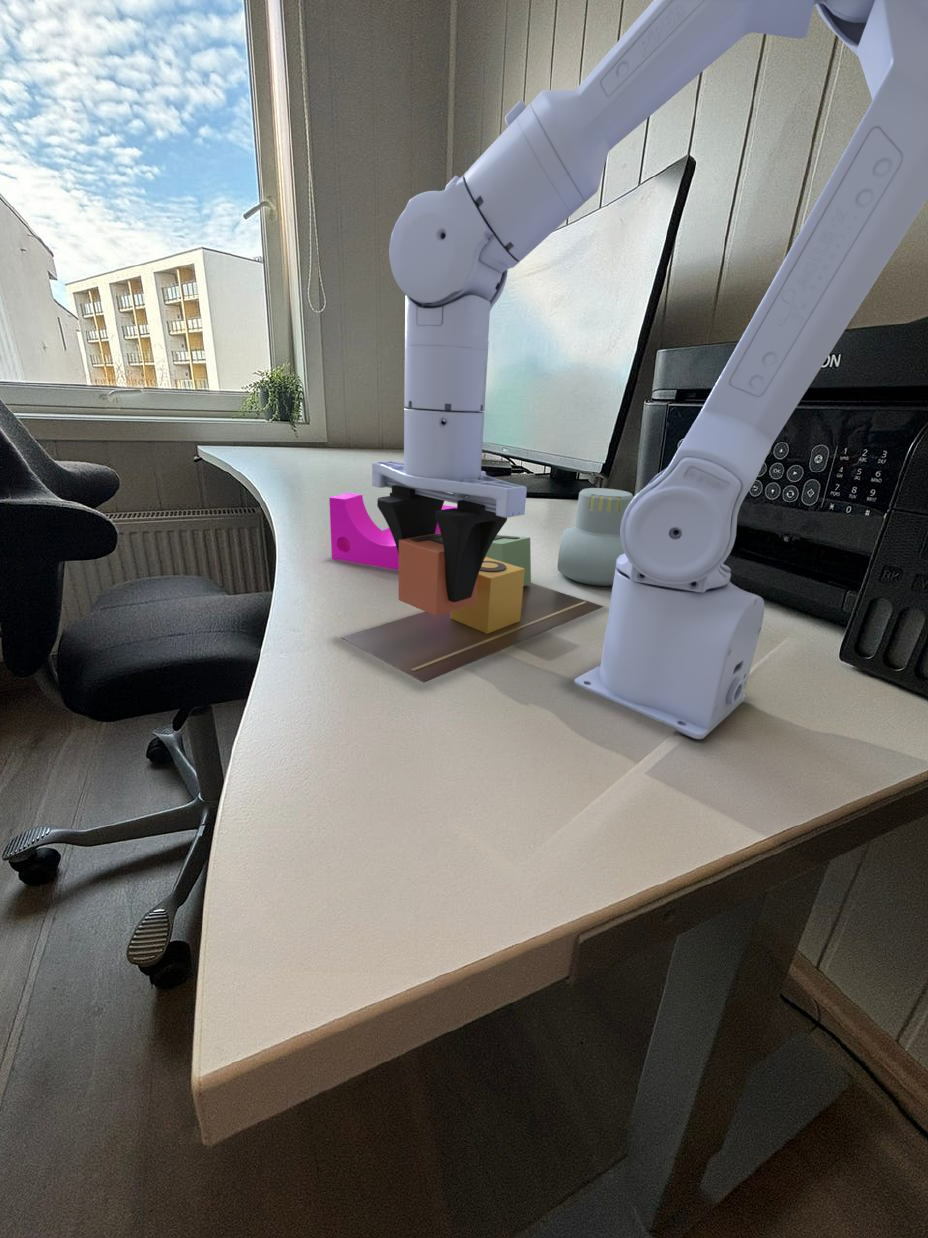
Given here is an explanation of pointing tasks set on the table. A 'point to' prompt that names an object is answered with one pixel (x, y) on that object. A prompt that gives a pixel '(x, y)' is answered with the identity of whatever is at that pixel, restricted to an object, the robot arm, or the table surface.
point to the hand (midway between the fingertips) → (438, 590)
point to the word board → (463, 634)
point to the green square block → (512, 553)
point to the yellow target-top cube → (494, 598)
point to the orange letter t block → (426, 575)
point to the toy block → (361, 534)
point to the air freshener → (594, 537)
